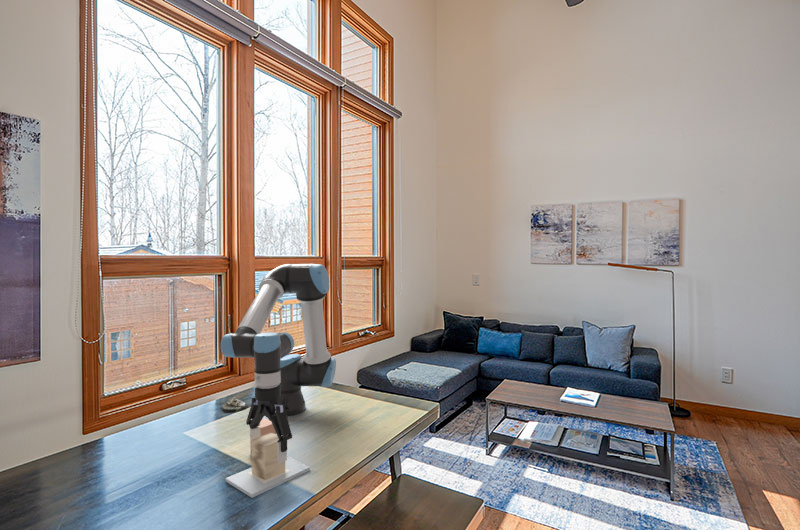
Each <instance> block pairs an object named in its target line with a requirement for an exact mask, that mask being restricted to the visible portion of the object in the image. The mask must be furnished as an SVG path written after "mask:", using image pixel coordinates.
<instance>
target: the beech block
mask: <svg viewBox="0 0 800 530" xmlns="http://www.w3.org/2000/svg"><path fill="white" fill-rule="evenodd" d="M278 440H279V438H278V436H277V434H274V433H269V434H266V435H264V436H261V437H258V438H255V439H253V440H251V439H250V454H251V453H252V454H251V467H252V473H253V474H255V475H256V476H258V477H260V478H262V479H264V480H267V479H270V478H272V477H274V476H276V475H278V474H280V473H283V472H285V461H284V462H282V463H280V464H278V463H277V441H278Z"/></svg>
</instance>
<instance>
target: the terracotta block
mask: <svg viewBox="0 0 800 530" xmlns="http://www.w3.org/2000/svg"><path fill="white" fill-rule="evenodd" d="M257 427H260V437H261V436H264V435H266V434H269V433H274V434H276V431H275V429H274V427H273V424H272V422H271V421H270V420H269V419H268V418H262V420H261V422H260V424H259V426H257ZM249 429H250V434H249V435H250V437H251V428H250V427H249ZM276 435H277V434H276ZM250 454H251V455H252V453H251V452H250Z"/></svg>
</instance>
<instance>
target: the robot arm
mask: <svg viewBox="0 0 800 530" xmlns="http://www.w3.org/2000/svg"><path fill="white" fill-rule="evenodd" d="M329 290H330V277H329V273H328V270H327V268H326V266H324V265H323V264H320V263H317V264H316V263H286V264H282V265H279V266H277V267H275V268H274V269H272V270H270V271H269V272H268V273H267V274H266V275H265V276H264V277H263V279H261V282H260V283H259V285H258V292H257V294H256V296H255V297H254V299H253V301H252V302H251V304H250V306H249V308H248V309H247V311H246V313H245V314H244V316H243V318H242V320H241V321H240V323H239V325H238V326H237V328H236V330H235V331H234V333H233V332H231V333H227V334H224V335H223V336H222V338H221V341H220V351H221V354H222V355H223V356H224V357H226V358H233V359H234V358H235V359H237V358H239V359H240V358H241V359H242V358H247V359H248V358H252V359H253V361H254V362H253V365H254V370H253V371H254V386H255V387H254V397H252V398H251V404H250V408H249V410H248V411H249V412H248V414H247V417H246V418H247V419H246V422H245V424H246V425H247V426H249V429H250V428H251V436H250V441H251V440H253V439H255V438H258V437H260V427H257V426H259V424H260V422H261V420H263V419H264V417H266V419H268V420H270V421H271V422H272V424H273V427H274V429H275V431H276V435H277V436H278V438H279V440H278V441H277V463H278V464H280V463H282V462H284V461H287V456H288V455H287V453H288V440H292V439H293V434H292V431H291V427H290V424H289V423H290V422H289V420H288V416H292V415H293V416H294V415H298V414H300V413H302V412H304V411H306V401H305V398H304V395H303V392H302V387H320V388H322V387H330V386H331V385H332V384H333V383H334V379H335V375H336V370H337V360H336V358H333V357H332V354H331V353H330V351H328V350H327V337H326V325H325V315H324V305H323V303H324V301H323V300H324V299H325V298H326V296H327V295H326V294H328V293H329V292H330V291H329ZM284 294H295V296H296V297H295V298H296V301H298V302H300V306H301V307H300V308H301V314H302V316H301V317H302V324H303V335H304V345H305V354H304V355H303V357H302V355H301V354H300V353H299V354H298V353H291V352H292V351H293V349H294V348H295V340H294V337H293V336H292V335H291V334H290V333H288V332H283V331H282V332H271V331H270V332H269V331H268V332H262V331H263V328H264V327H265V325H266V323H267V321H268V319H269V317H270V315H271V313H272V312H273V309H274V307H275V305H276V303H277V301H278V300H279V299H282V297H283V296H284ZM290 353H291V354H290Z"/></svg>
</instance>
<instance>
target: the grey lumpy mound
mask: <svg viewBox="0 0 800 530" xmlns="http://www.w3.org/2000/svg"><path fill="white" fill-rule="evenodd" d="M227 400H228V399H227ZM221 408H222V409H221V410H222V411H223V412H225V413H237V412H241V411H245V410H246V409H249V405H248V404H247V403H246V402H245V401H243V400H240V399H237V398H236V397H233V398H231V399H229V400H228V401H227V402H225V403H223V404H222V405H221Z"/></svg>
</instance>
